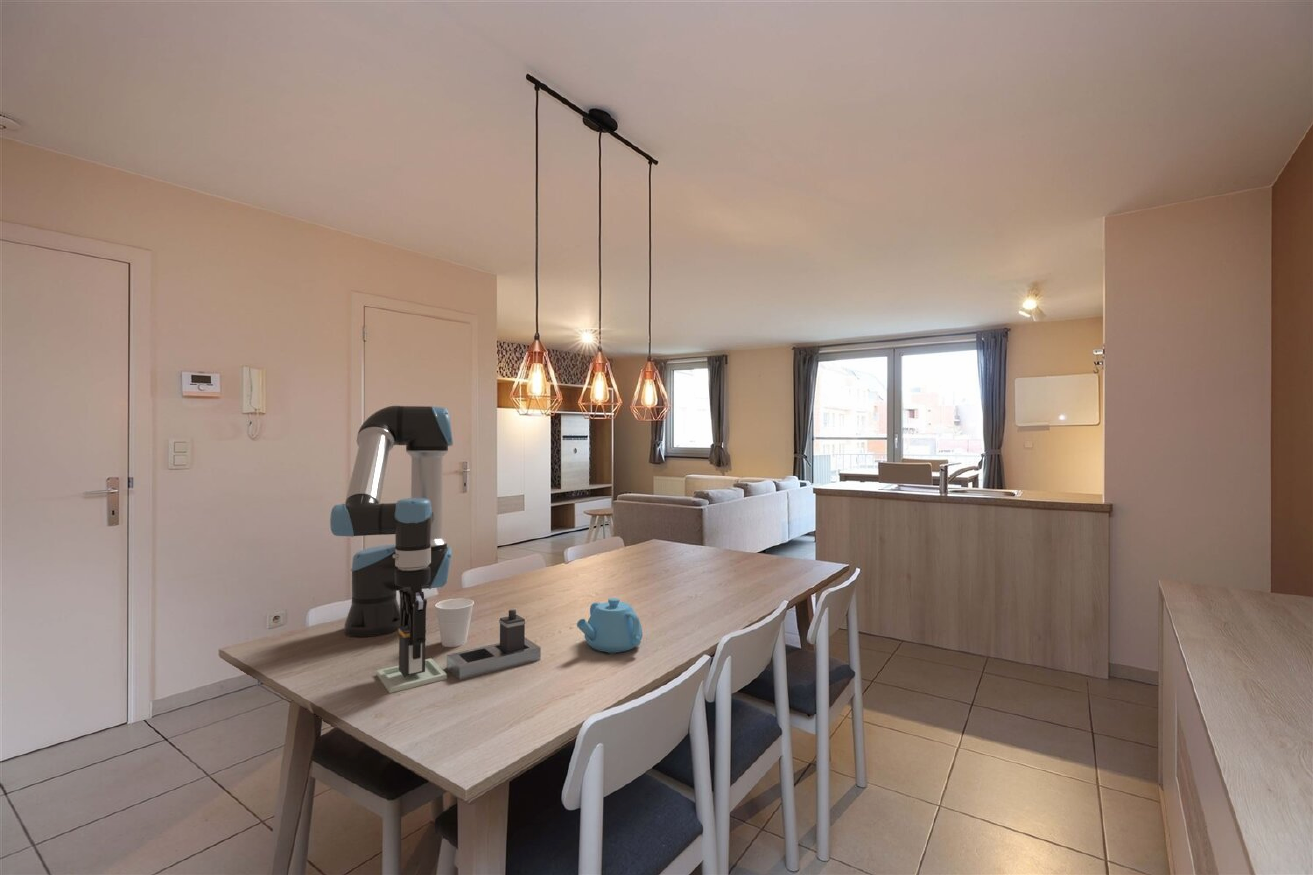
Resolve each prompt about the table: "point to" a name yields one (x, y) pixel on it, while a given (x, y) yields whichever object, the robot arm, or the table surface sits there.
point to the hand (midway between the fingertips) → (412, 667)
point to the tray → (410, 677)
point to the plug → (407, 651)
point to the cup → (454, 621)
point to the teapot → (612, 627)
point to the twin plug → (512, 633)
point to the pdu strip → (490, 659)
